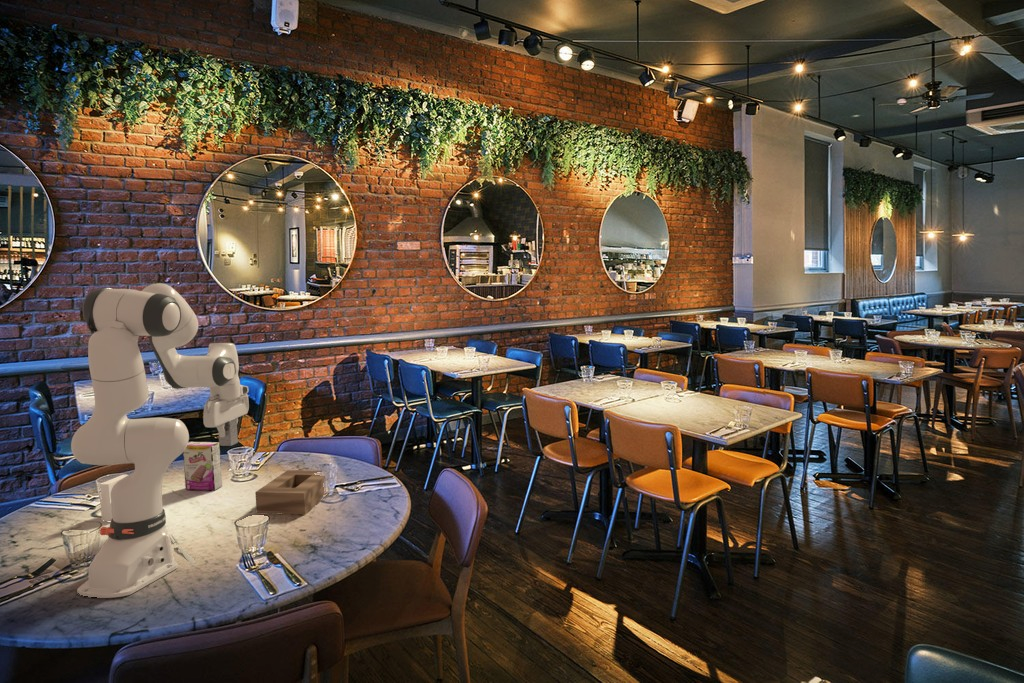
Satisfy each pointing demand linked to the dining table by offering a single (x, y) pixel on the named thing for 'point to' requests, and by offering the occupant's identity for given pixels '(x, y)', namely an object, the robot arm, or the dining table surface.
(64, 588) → the dining table surface
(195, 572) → the dining table surface
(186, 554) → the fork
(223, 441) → the gray rectangular block
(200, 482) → the candy bar box
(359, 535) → the dining table surface
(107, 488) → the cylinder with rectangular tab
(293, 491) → the walnut well
